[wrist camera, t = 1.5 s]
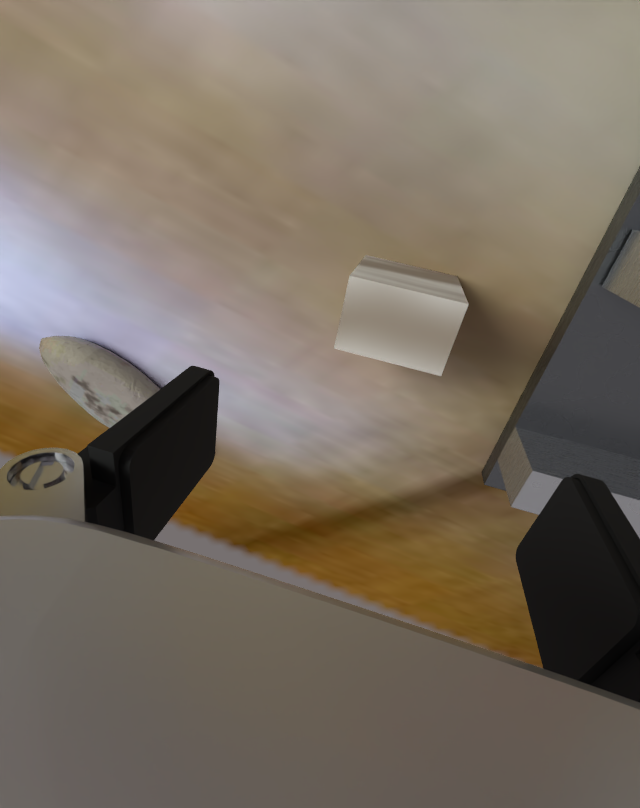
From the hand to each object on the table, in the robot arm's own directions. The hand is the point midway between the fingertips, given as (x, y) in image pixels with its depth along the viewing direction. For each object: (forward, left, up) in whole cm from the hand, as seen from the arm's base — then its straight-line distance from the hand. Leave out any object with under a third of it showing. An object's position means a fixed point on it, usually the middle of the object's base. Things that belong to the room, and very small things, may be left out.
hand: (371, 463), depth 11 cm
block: (0, 0, -19) cm, 19 cm away
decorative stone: (+14, -21, -19) cm, 31 cm away
